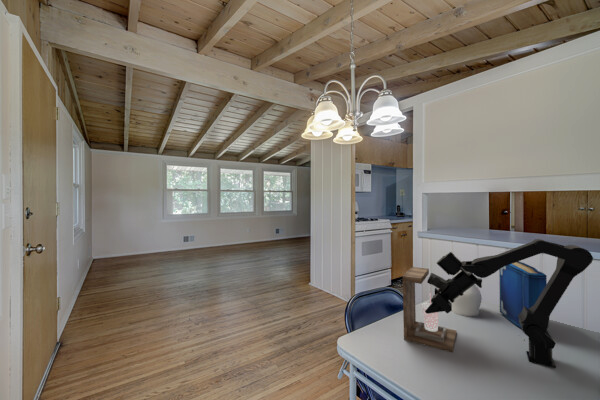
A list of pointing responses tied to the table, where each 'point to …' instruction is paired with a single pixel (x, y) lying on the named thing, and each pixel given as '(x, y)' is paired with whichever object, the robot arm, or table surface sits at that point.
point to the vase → (467, 302)
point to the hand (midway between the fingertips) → (426, 309)
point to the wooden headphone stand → (416, 329)
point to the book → (519, 289)
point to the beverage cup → (430, 317)
